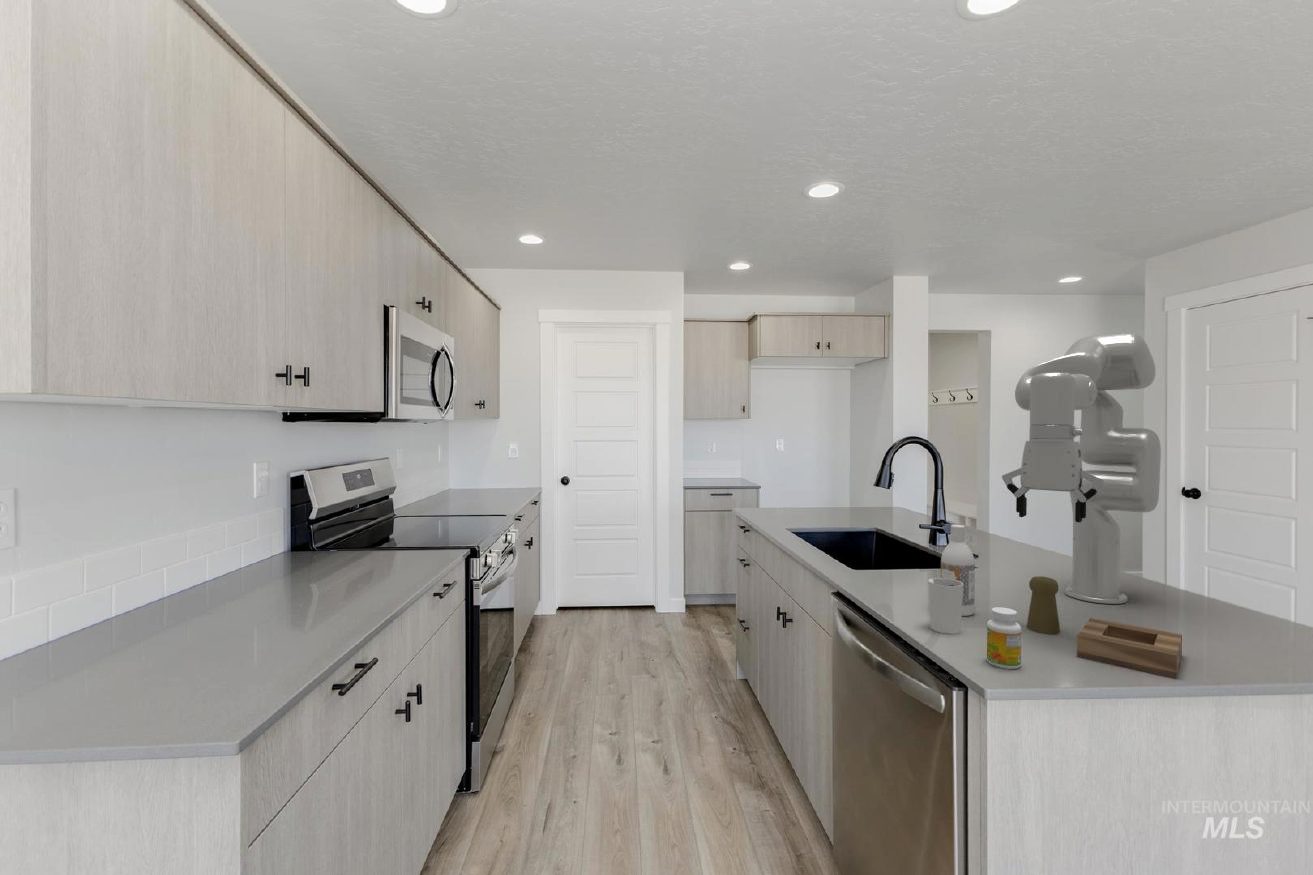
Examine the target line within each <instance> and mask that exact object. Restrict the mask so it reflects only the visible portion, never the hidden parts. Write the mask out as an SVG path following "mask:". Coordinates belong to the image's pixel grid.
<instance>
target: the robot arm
mask: <svg viewBox="0 0 1313 875" xmlns="http://www.w3.org/2000/svg"><path fill="white" fill-rule="evenodd" d="M1156 370H1157V369H1156V363H1155V361H1154V358H1153V355H1152V354H1151V351H1150V348H1149V347H1148V344H1147V343H1146V341H1145V340H1144V338H1143V337H1142V336H1141V335H1139V334H1138V333H1135V332H1124V333H1123V332H1121V333H1112V334H1111V333H1110V334H1099V335H1098V334H1097V335H1090V336H1085V337H1082V338H1079V339H1077V340H1076V341H1074V342H1073V344H1072V345H1071V346H1070V347H1069V349H1067V351H1066V352H1065V354H1064V355H1062V356H1058V357H1056V358H1053V359H1051V360H1048V361H1046V362H1042V363H1039V364H1036V365H1034V366H1032V367H1030V368H1028V369H1027V370H1026V371H1025V372H1024V373H1023V374H1022V375H1021V377H1020V378H1019V380H1018V382H1017V384H1016V386H1015V390H1014V398H1015V402H1016V404H1017V405H1018V407H1019V408H1020V409H1022V410H1025V411H1028V412H1029V439H1028V440H1025V443H1024V447H1023V451H1022V452H1023V453H1022V456H1021V457H1022V458H1021V466H1020V467H1019V468H1016V469H1014V470H1013V471H1010V472H1008V473H1005V474H1003V475H1001V478H1002V479H1001V480H1003V483H1004V484H1005V485H1006V488H1007V490H1009V492H1011V493H1012V494H1013V496H1014V497H1015V499H1016V501H1015V502H1016V503H1015V504H1016V507H1015V508H1016V510H1015V511H1016V513H1018V517H1019V518H1024V517H1027V506H1028V499H1027V497H1026V494H1027V493H1028V492H1029V491H1030V490H1035V491H1036V490H1038V491H1050V492H1051V491H1053V492H1068V493H1069V496H1070V503H1071V510H1072V577H1071V578H1072V580H1071V581H1072V582H1071V585H1069V586H1066V587H1065V589H1064V593H1065V594H1066V595H1067V596H1069V597H1071V598H1074V599H1077V600H1079V601H1080V600H1082V601H1084V602H1091V603H1096V604H1107V605H1110V604H1112V605H1113V604H1114V605H1116V604H1118V605H1119V604H1125V603H1127V602H1128V595H1126V594H1125V593H1122V592H1120V573H1121V571H1120V569H1121V568H1120V566H1121V565H1120V564H1121V562H1120V560H1121V553H1120V552H1121V529H1120V526H1119V524H1118V522H1117V521H1116V520H1115V519H1114V517H1113V516H1112V515H1111V514H1110V512H1108V511H1116V512H1117V511H1120V512H1130V513H1150V512H1153V511H1154V510H1155V509H1156V508H1157V507H1158V503H1159V497H1160V480H1161V479H1160V475H1161V459H1162V458H1161V456H1162V455H1161V454H1162V451H1161V450H1162V449H1161V446H1162V445H1161V441H1160V438H1159V436H1158V434H1157V433H1156V431H1155V430H1152V429H1149V428H1143V427H1142V428H1141V427H1123V422H1124V408H1123V406H1122V405H1121V404H1120V403H1119V402H1118V400H1117V399H1116V398H1115V397H1114V396H1112V395H1111V394H1110V393H1108V392H1107V391H1120V390H1121V391H1122V390H1124V391H1125V390H1141V389H1147V388H1148V387H1149V386H1151V385H1152V384H1153V382H1154V381H1155V378H1156ZM1075 411H1080V413H1081V415H1080V428H1078V427H1076V425H1075ZM1078 436H1079V441H1075V440H1074V439H1075V438H1076V437H1078ZM1083 462H1084V463H1085V464H1087V465H1090V466H1091V465H1092V466H1101V467H1120V468H1121V467H1122V468H1123V467H1124V468H1133V469H1134V472H1133V471H1132V472H1131V471H1114V470H1097V469H1096V470H1095V469H1094V470H1092V469H1090V470H1088V469H1087V470H1083ZM1018 476H1020V484H1021V486H1020V487H1018V486H1017V485H1016V484H1015V483H1014V481H1013V478H1016V477H1018Z"/></svg>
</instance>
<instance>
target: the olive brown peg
mask: <svg viewBox="0 0 1313 875" xmlns="http://www.w3.org/2000/svg"><path fill="white" fill-rule="evenodd" d="M1028 586H1029V589H1030V591H1031V592H1032V593H1031V597H1030V604H1029V610H1028V615H1027V622H1026V628H1027V629H1028V630H1030V631H1032V632H1035V633H1038V634H1045V635H1058V634H1060V633H1061V628H1060V627H1061V626H1060V620H1059V613H1058V606H1057V605H1058V604H1057V599H1056V594H1058V591H1059V587H1060V586H1059V583H1058V581H1057V580H1056V579H1054V578H1051V577H1048V576H1033V577H1031V578H1030V580H1029V583H1028Z"/></svg>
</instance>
